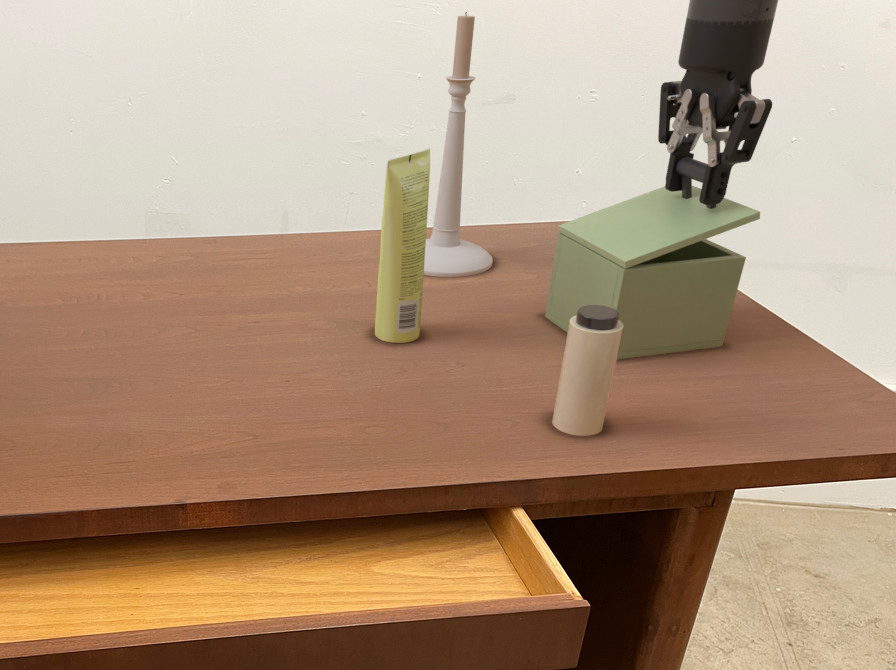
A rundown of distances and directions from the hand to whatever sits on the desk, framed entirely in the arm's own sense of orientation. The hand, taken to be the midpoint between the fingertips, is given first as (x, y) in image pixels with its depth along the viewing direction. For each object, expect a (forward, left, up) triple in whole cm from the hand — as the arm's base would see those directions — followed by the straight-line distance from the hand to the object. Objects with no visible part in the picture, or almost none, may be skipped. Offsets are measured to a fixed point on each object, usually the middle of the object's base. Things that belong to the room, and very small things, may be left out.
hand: (692, 195), depth 95 cm
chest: (+4, 0, -15) cm, 15 cm away
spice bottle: (+21, +18, -15) cm, 31 cm away
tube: (+29, -6, -15) cm, 33 cm away
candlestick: (+14, -28, -15) cm, 35 cm away
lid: (+4, 0, -3) cm, 5 cm away
